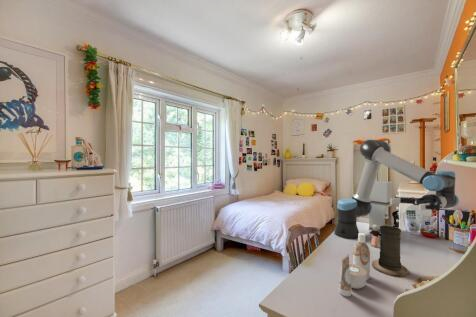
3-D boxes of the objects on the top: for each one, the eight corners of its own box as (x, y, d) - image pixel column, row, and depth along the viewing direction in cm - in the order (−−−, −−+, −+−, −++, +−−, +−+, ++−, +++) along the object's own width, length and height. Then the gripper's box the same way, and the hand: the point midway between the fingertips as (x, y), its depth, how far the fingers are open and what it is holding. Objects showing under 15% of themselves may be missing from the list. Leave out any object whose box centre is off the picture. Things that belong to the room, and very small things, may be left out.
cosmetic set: (354, 303, 83) (355, 251, 83) (329, 292, 90) (330, 244, 90) (375, 278, 101) (375, 234, 101) (352, 270, 108) (353, 229, 107)
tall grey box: (385, 233, 159) (387, 182, 158) (369, 229, 167) (370, 181, 166) (391, 230, 166) (392, 181, 166) (374, 226, 174) (375, 180, 174)
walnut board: (391, 261, 117) (392, 259, 117) (415, 275, 103) (415, 273, 103) (365, 262, 116) (365, 260, 115) (386, 277, 102) (386, 274, 102)
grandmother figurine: (367, 245, 137) (367, 224, 137) (368, 243, 140) (369, 222, 140) (382, 249, 132) (382, 226, 132) (383, 247, 135) (384, 225, 135)
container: (405, 272, 104) (406, 231, 104) (382, 269, 106) (383, 230, 105) (395, 263, 113) (396, 225, 112) (375, 261, 114) (376, 224, 114)
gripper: (463, 215, 108) (433, 218, 100) (407, 203, 131) (380, 206, 124) (463, 198, 108) (434, 201, 100) (408, 190, 131) (380, 192, 124)
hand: (404, 204), depth 112 cm, fingers open, 13 cm apart
